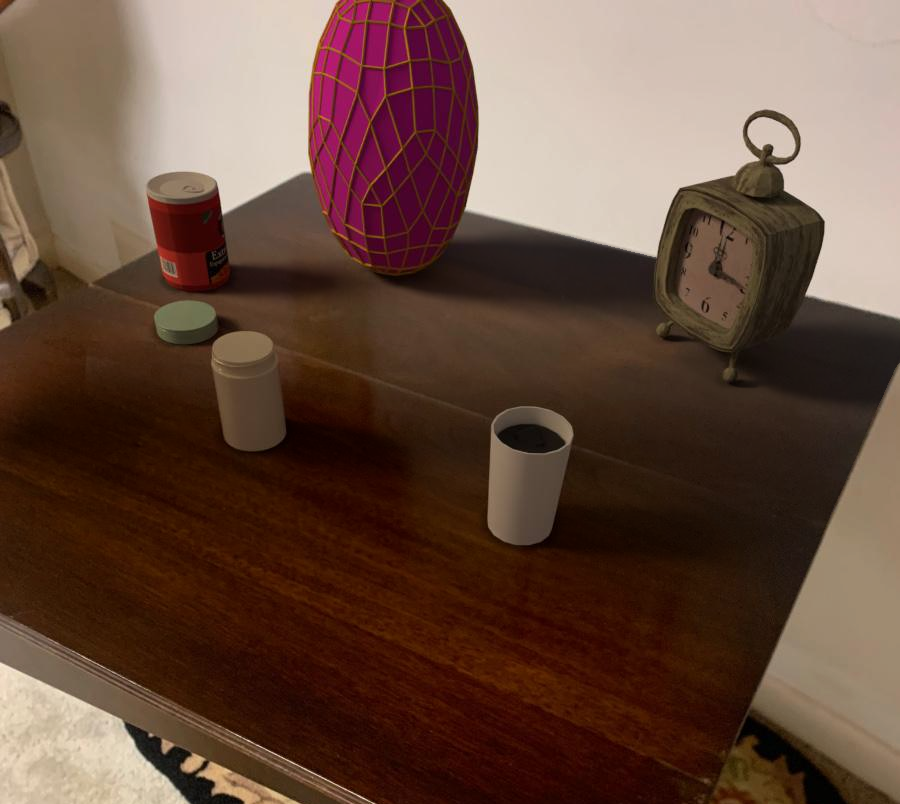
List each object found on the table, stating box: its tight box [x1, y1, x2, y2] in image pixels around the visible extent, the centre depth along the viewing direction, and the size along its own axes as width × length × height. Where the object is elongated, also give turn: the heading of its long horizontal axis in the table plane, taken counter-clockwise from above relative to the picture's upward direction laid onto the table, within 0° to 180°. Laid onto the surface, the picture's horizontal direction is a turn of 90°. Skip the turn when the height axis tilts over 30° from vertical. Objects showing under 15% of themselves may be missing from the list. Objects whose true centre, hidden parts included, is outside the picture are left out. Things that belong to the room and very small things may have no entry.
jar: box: [210, 330, 287, 452], centre depth 82 cm, size 6×6×9 cm
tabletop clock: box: [652, 109, 826, 384], centre depth 91 cm, size 14×9×25 cm, turn 32°
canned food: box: [145, 171, 231, 293], centre depth 103 cm, size 8×8×11 cm
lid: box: [153, 299, 219, 345], centre depth 98 cm, size 7×7×2 cm
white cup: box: [486, 405, 574, 546], centre depth 75 cm, size 7×7×10 cm
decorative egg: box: [307, 0, 480, 277], centre depth 100 cm, size 19×19×30 cm
